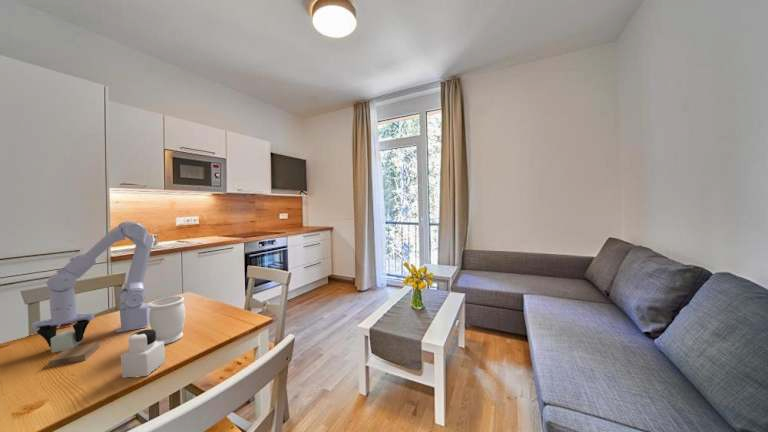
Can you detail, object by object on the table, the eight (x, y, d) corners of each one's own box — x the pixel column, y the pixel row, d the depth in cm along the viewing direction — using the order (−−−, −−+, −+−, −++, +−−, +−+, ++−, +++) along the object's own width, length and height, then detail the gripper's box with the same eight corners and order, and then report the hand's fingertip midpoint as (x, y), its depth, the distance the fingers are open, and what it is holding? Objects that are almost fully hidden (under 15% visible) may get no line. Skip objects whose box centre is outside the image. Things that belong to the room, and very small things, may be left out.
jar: (189, 338, 96) (187, 300, 95) (152, 350, 89) (149, 309, 88) (183, 329, 103) (181, 293, 103) (149, 339, 96) (147, 300, 95)
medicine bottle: (142, 363, 82) (139, 327, 81) (165, 361, 82) (163, 326, 82) (121, 378, 75) (118, 339, 74) (147, 377, 75) (144, 338, 75)
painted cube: (81, 341, 95) (80, 329, 94) (72, 349, 90) (70, 335, 90) (62, 345, 93) (60, 332, 92) (51, 352, 88) (50, 338, 88)
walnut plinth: (99, 347, 91) (98, 342, 91) (85, 360, 83) (84, 354, 83) (67, 353, 87) (66, 348, 87) (49, 367, 80) (48, 361, 80)
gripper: (98, 298, 97) (100, 333, 98) (41, 306, 91) (45, 342, 92) (86, 305, 91) (89, 342, 92) (25, 313, 85) (29, 353, 85)
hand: (66, 343), depth 91 cm, fingers open, 6 cm apart
